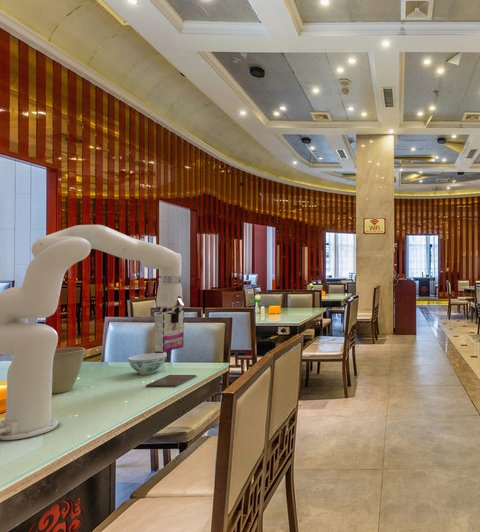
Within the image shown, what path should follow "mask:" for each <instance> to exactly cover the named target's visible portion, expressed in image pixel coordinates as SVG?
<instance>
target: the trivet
mask: <svg viewBox="0 0 480 532" xmlns="http://www.w3.org/2000/svg"><path fill="white" fill-rule="evenodd" d="M196 377H197V374H168V375H166V376H163V377H161V378H159V379H157V380H155V381H151V382H150V383H147V384H146V385H145V387H146V388H176V387H178V386H180V385H182V384H184V383H186V382H188V381H190V380H192V379H194V378H196Z"/></svg>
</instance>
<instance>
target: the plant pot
mask: <svg viewBox="0 0 480 532" xmlns="http://www.w3.org/2000/svg"><path fill="white" fill-rule="evenodd" d="M85 352H86V348H85V347H61V348H56V350H55V354H54V359H53V370H52V395H53V394H62V393H66V392H70V391H72V389H73V387H74V385H75V384H76V382H77V381H76V380H77V378H78V376H79V374H80V371H81V368H82V365H83V361H84V356H85Z"/></svg>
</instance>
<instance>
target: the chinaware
mask: <svg viewBox="0 0 480 532" xmlns="http://www.w3.org/2000/svg"><path fill="white" fill-rule="evenodd" d="M167 356H168V355H167V353H165V352H152V353H150V352H149V353H141V354H135V355H132V356H129V357H128V363H129V366H130V367H131V368H132V369H133V370H134V371H136V372H138V374H139V375H142V376H143V375H151V374H155V373H156V372H157V370H158V369H160V368H161V367H162V366H164V363H165V362H166V359H167Z"/></svg>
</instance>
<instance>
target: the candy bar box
mask: <svg viewBox="0 0 480 532" xmlns="http://www.w3.org/2000/svg"><path fill="white" fill-rule="evenodd" d="M171 314H173V313H172V310H169V311H167V312H161V313H160V312H155V313H154V346H153V347H154V348H153V349H154V353H165V352H169V351H174V350H177V349H181V348H183V347H184V327H185V325H184V323H185V319H184V318H185V310H181V311H180V313H179V322H178V323H171Z"/></svg>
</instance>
